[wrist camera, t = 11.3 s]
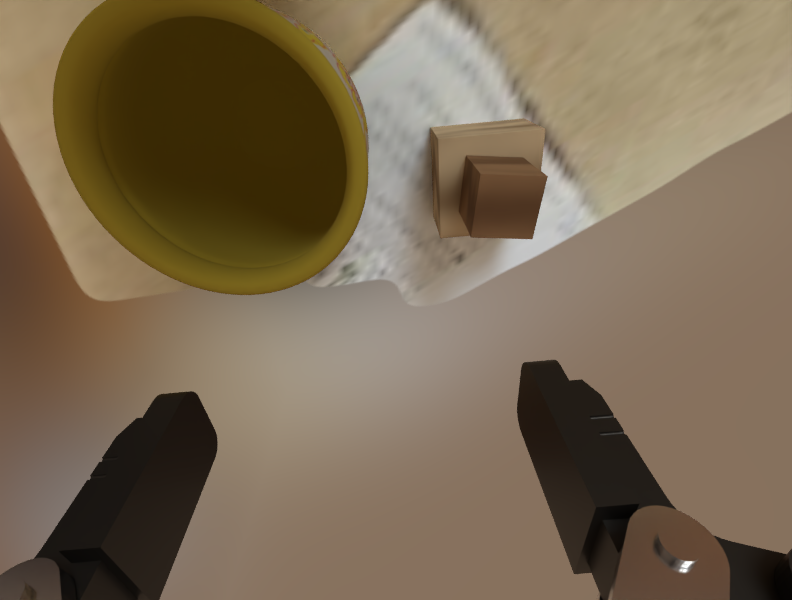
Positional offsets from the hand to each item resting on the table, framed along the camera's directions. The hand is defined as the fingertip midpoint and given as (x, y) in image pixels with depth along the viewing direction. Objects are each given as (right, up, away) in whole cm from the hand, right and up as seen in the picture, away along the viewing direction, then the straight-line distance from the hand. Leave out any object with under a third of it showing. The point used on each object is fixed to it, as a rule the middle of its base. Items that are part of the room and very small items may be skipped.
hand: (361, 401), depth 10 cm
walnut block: (+9, +13, +26) cm, 30 cm away
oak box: (+9, +16, +31) cm, 36 cm away
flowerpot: (-10, +19, +28) cm, 36 cm away
